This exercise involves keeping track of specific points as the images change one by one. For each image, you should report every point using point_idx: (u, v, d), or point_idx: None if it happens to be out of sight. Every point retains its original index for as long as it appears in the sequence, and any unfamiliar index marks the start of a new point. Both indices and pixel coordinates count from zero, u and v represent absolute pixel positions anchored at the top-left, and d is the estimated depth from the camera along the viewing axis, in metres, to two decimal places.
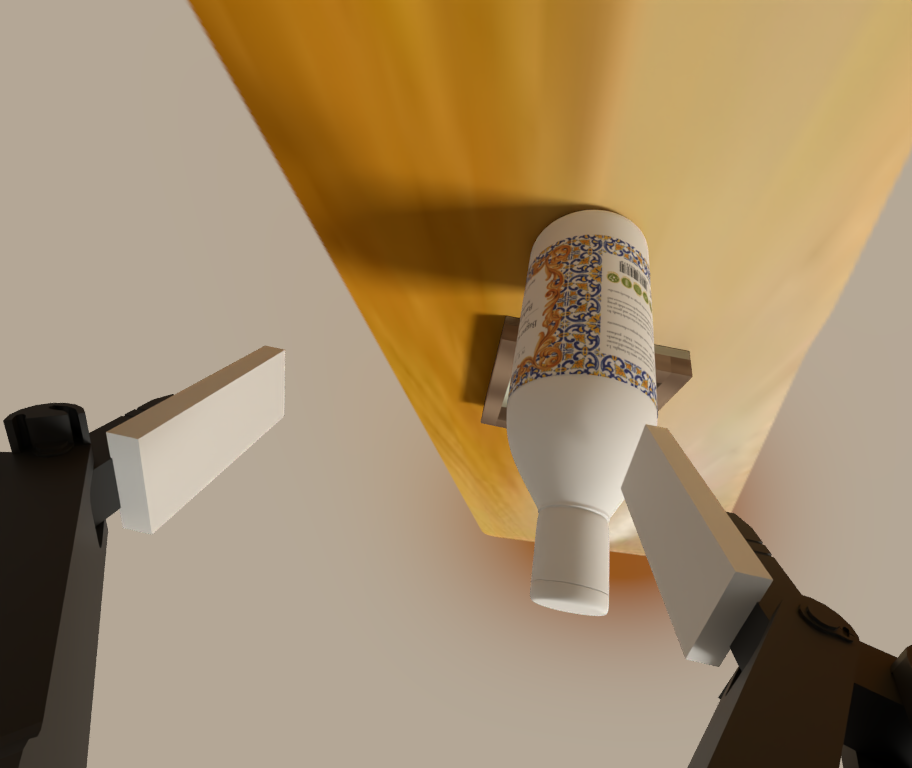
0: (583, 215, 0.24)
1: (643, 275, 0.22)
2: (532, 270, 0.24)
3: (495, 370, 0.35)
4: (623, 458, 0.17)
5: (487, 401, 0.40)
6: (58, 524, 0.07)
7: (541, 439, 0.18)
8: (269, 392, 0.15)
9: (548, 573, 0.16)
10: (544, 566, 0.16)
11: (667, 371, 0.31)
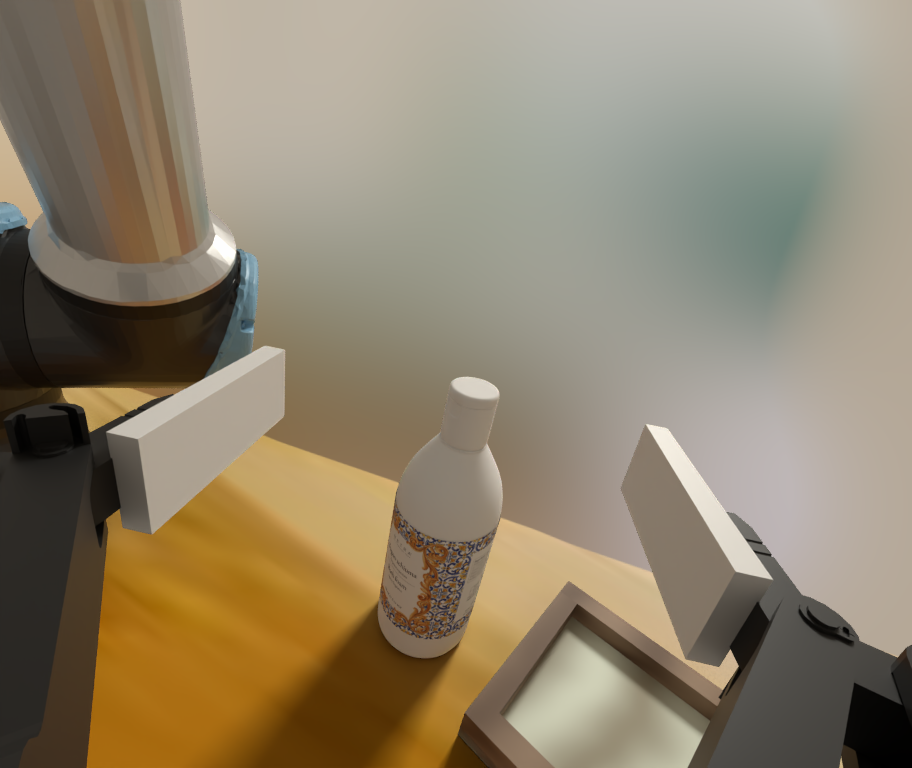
0: None
1: None
2: (385, 603, 0.30)
3: None
4: None
5: None
6: (57, 524, 0.07)
7: (412, 465, 0.26)
8: (269, 392, 0.15)
9: (449, 398, 0.25)
10: (447, 403, 0.24)
11: (559, 594, 0.34)
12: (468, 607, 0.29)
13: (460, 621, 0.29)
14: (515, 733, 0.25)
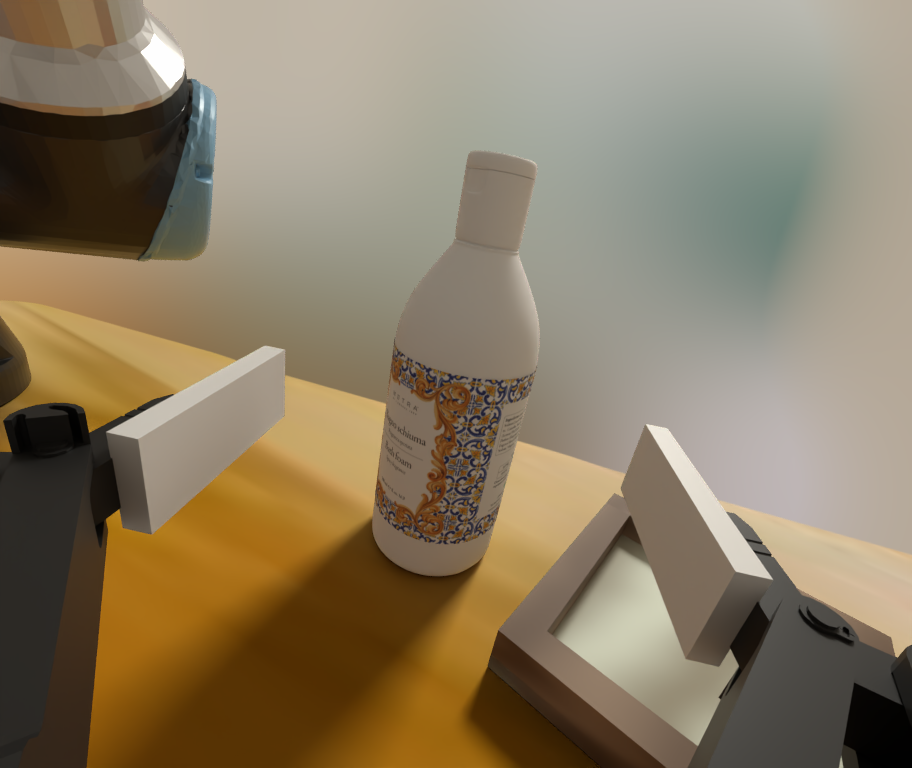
0: None
1: None
2: (383, 501, 0.22)
3: (594, 705, 0.16)
4: None
5: None
6: (58, 524, 0.07)
7: (416, 288, 0.19)
8: (269, 392, 0.15)
9: (467, 174, 0.18)
10: (466, 180, 0.18)
11: (605, 505, 0.27)
12: (494, 501, 0.22)
13: (484, 521, 0.22)
14: (573, 655, 0.17)
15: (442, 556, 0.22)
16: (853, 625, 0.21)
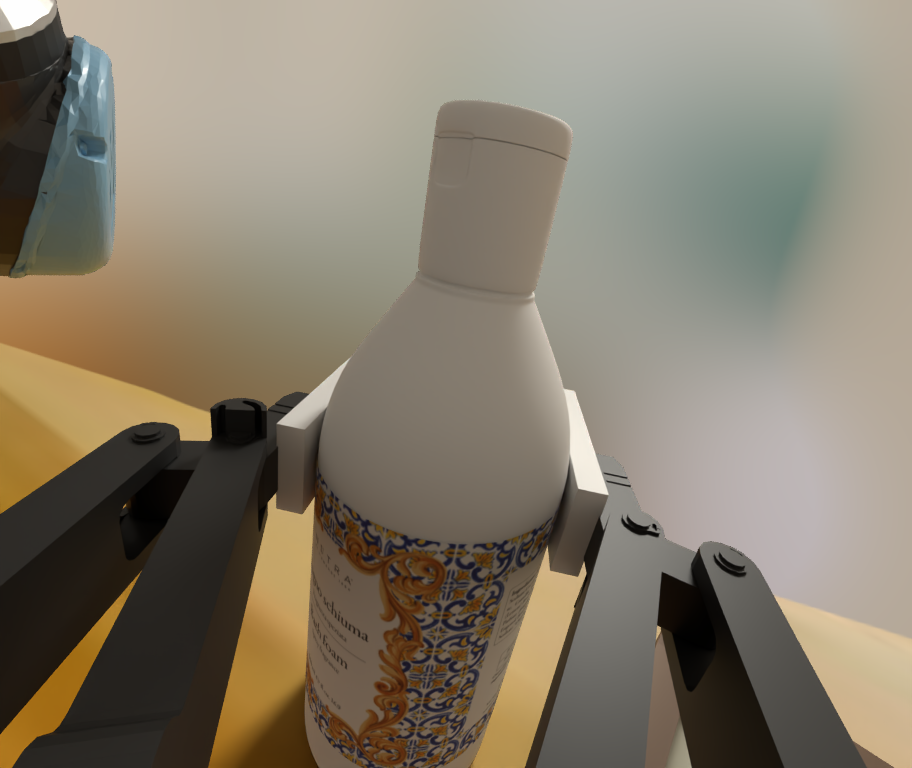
0: None
1: None
2: (311, 692, 0.13)
3: None
4: None
5: None
6: (230, 507, 0.08)
7: (352, 358, 0.11)
8: None
9: (437, 151, 0.09)
10: (434, 162, 0.09)
11: (656, 647, 0.18)
12: (493, 695, 0.13)
13: (476, 726, 0.13)
14: None
15: None
16: None
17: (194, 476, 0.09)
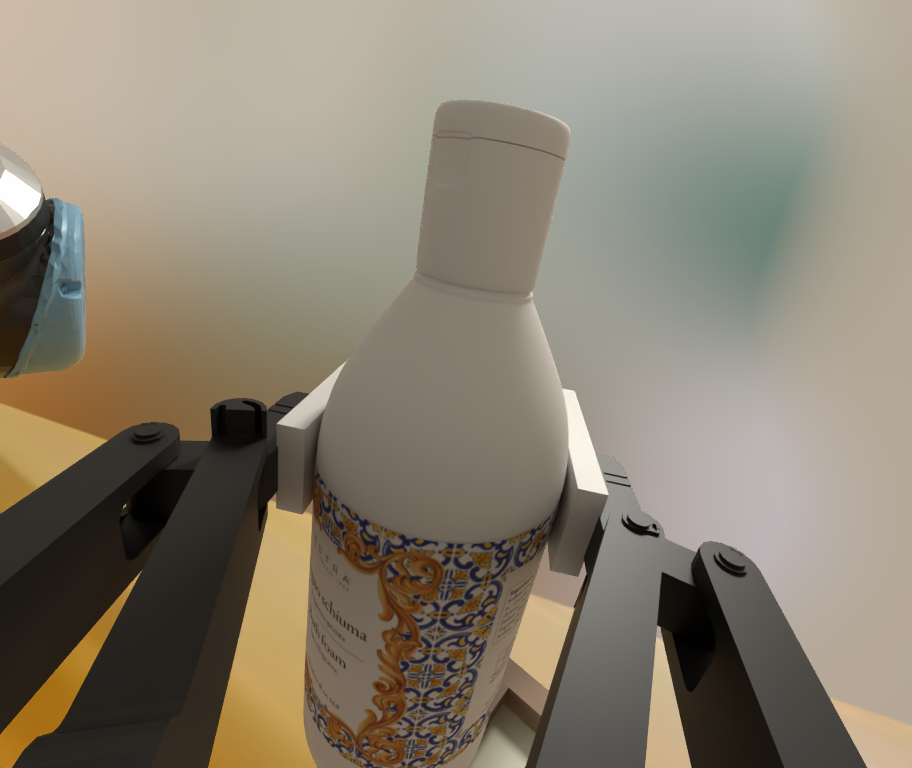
0: None
1: None
2: (310, 692, 0.13)
3: None
4: None
5: None
6: (230, 508, 0.08)
7: (350, 358, 0.11)
8: None
9: (435, 151, 0.09)
10: (432, 162, 0.09)
11: None
12: (492, 694, 0.13)
13: (475, 726, 0.13)
14: None
15: None
16: None
17: (194, 476, 0.09)
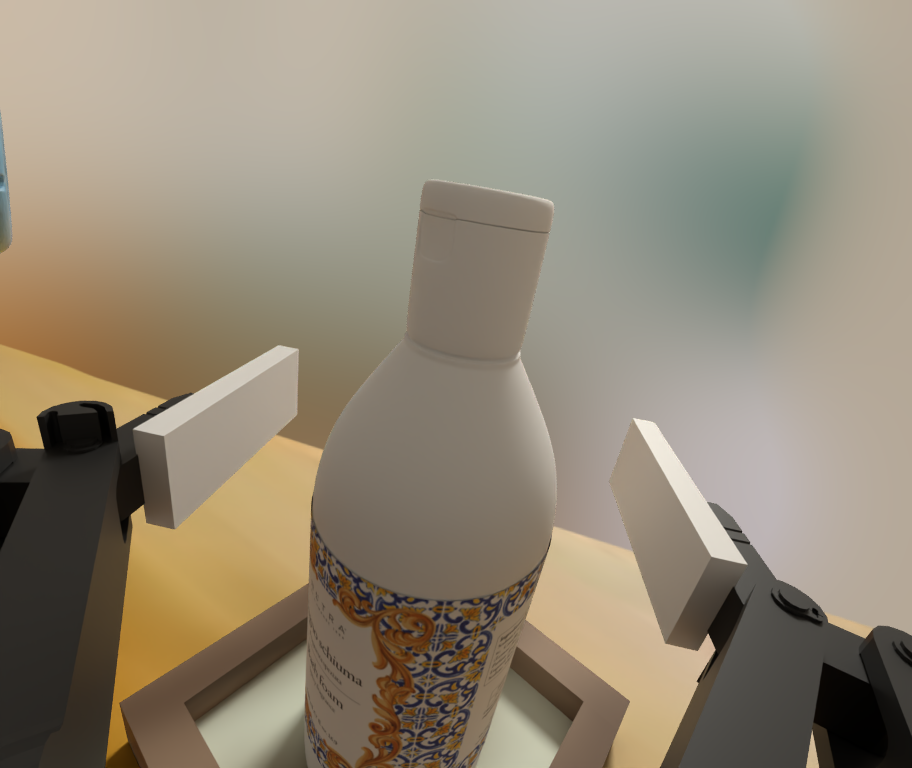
0: None
1: None
2: (310, 724, 0.14)
3: None
4: None
5: None
6: (84, 519, 0.07)
7: (344, 413, 0.11)
8: (283, 391, 0.15)
9: (423, 223, 0.09)
10: (419, 235, 0.09)
11: None
12: (485, 727, 0.14)
13: (469, 757, 0.14)
14: (193, 735, 0.15)
15: None
16: (591, 686, 0.19)
17: (27, 495, 0.08)
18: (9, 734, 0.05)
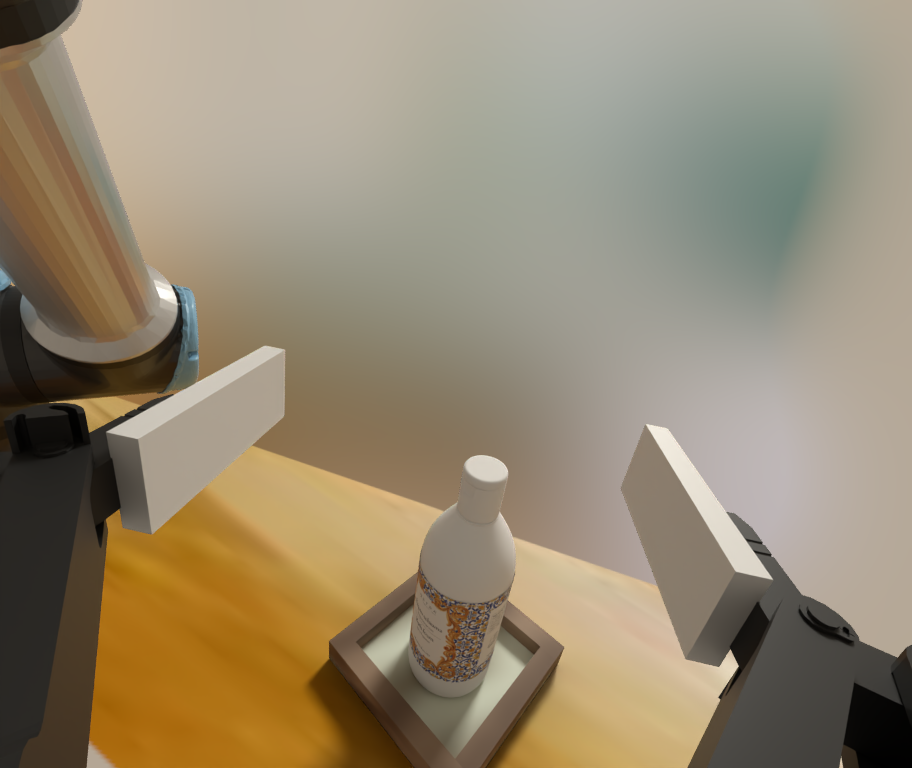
0: None
1: None
2: (415, 650, 0.33)
3: (362, 679, 0.33)
4: None
5: (409, 738, 0.30)
6: (58, 524, 0.07)
7: (433, 533, 0.30)
8: (269, 392, 0.15)
9: (463, 478, 0.28)
10: (462, 483, 0.28)
11: None
12: (489, 652, 0.33)
13: (483, 664, 0.33)
14: (363, 655, 0.34)
15: (455, 688, 0.33)
16: (545, 640, 0.37)
17: None
18: None
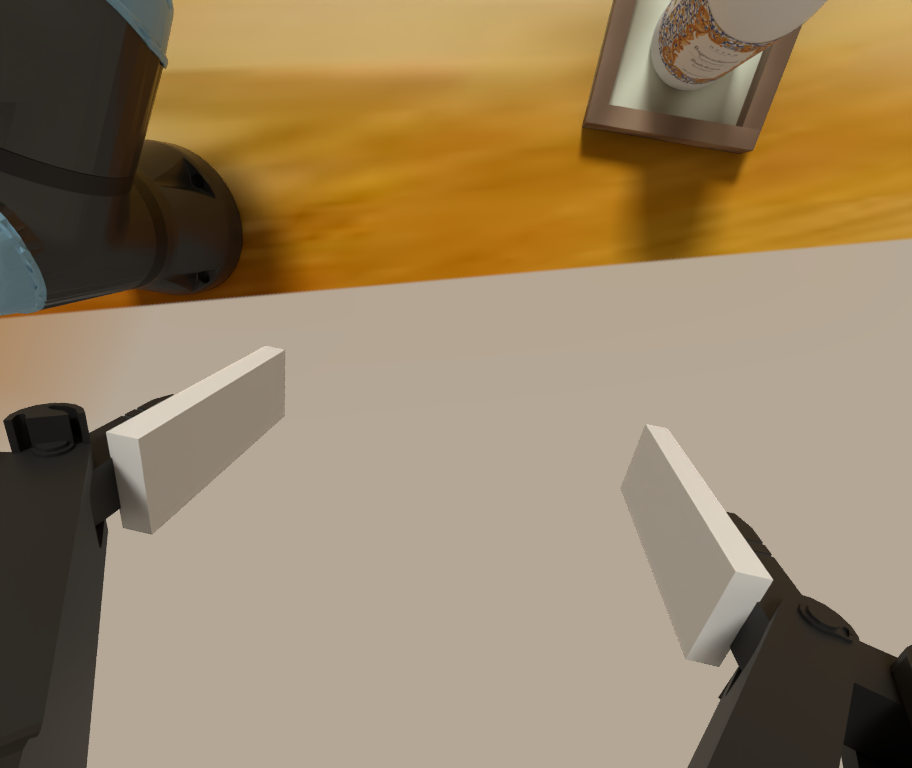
0: (652, 50, 0.35)
1: None
2: (682, 76, 0.33)
3: (635, 128, 0.36)
4: None
5: (698, 139, 0.36)
6: (57, 524, 0.07)
7: None
8: (269, 392, 0.15)
9: None
10: None
11: None
12: None
13: None
14: (623, 109, 0.36)
15: None
16: None
17: None
18: None
